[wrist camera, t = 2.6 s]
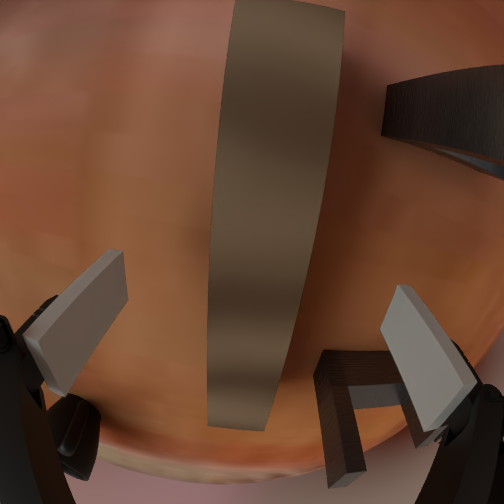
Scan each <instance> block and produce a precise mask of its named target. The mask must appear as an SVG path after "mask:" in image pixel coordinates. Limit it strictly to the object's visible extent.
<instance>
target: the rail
mask: <svg viewBox="0 0 504 504" xmlns="http://www.w3.org/2000/svg"><path fill="white" fill-rule="evenodd" d="M344 19H345V11H342V10H338V9H334V8H330V7H325V6H321V5H316V4H310V3H305V2H299V1H293V0H235V6H234V12H233V18H232V24H231V31H230V38H229V45H228V52H227V60H226V67H225V75H224V84H223V92H222V101H221V110H220V120H219V130H218V141H217V152H216V163H215V176H214V189H213V204H212V219H211V237H210V257H209V282H208V318H207V414H208V426H213V427H221V428H229V429H239V430H251V431H264V429H265V426H266V423H267V420H268V417H269V414H270V410H271V407H272V404H273V401H274V397H275V394H276V391H277V387H278V384H279V381H280V377H281V374H282V370H283V367H284V363H285V360H286V356H287V352H288V349H289V345H290V341H291V337H292V334H293V330H294V326H295V322H296V318H297V314H298V310H299V306H300V302H301V298H302V293H303V289H304V285H305V281H306V276H307V272H308V267H309V263H310V258H311V253H312V249H313V244H314V239H315V234H316V229H317V224H318V219H319V214H320V209H321V203H322V198H323V192H324V186H325V181H326V175H327V169H328V162H329V156H330V150H331V143H332V136H333V129H334V122H335V114H336V106H337V98H338V89H339V80H340V70H341V59H342V48H343V35H344Z"/></svg>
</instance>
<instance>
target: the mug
mask: <svg viewBox="0 0 504 504" xmlns="http://www.w3.org/2000/svg"><path fill="white" fill-rule="evenodd" d="M47 415H48V419H49V424H50V428H51V432H52V436H53V440H54V443H55V447H56V450H57V454H58V457H59V460H60V463H61V466H62V469H63V472H65V473H66V474H68V475H71V476H73V477H75V478H77V479H80V480H84V481H88V480H89V477H90V475H91V472H92V469H93V466H94V463H95V460H96V456H97V451H98V444H99V433H100V420H101V415H100V413H99V412H98V410H97V409H96V408H95V407H93V406H92V405H91V404H90V403H88V402H87V401H85V400H84V399H82V398H80V397H78V396H76V395H73V394H67V395H66V397H64V396H63V397H62V398H61V399H59V400H58V401H57V402H56V403H55V404H54V405H52V406H51V407H50V408H49V409H48V410H47Z"/></svg>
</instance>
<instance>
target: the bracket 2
mask: <svg viewBox="0 0 504 504" xmlns="http://www.w3.org/2000/svg"><path fill="white" fill-rule="evenodd" d="M381 136H384V137H387V138H391V139H394V140H398V141H401V142H404V143H407V144H410V145H413V146H416V147H419V148H422V149H425V150H428V151H431V152H433V153H436V154H439V155H441V156H444V157H446V158H449V159H452V160H454V161H456V162H459V163H461V164H464V165H466V166H468V167H471V168H473V169H475V170H477V171H480V172H482V173H484V174H487V175H490V176H493V177H495V178H498V179H500V180H503V181H504V64H502V65H492V66H483V67H475V68H468V69H461V70H455V71H449V72H444V73H439V74H434V75H429V76H424V77H419V78H415V79H411V80H407V81H403V82H399V83H395V84H391V85H387V94H386V102H385V110H384V118H383V125H382V132H381Z"/></svg>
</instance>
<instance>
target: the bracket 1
mask: <svg viewBox="0 0 504 504" xmlns="http://www.w3.org/2000/svg"><path fill="white" fill-rule="evenodd" d="M313 378H314V385H315V391H316V398H317V405H318V412H319V419H320V426H321V434H322V441H323V449H324V457H325V466H326V475H327V484H328V488H329V489H330V488H338V487H346V486H348V485H349V484H350V483H352V482H353V481H354V480H356V479H357V478H358V477H359V476H361V475H362V474H363V473H364V472H366V471H367V470H366V465H365V460H364V455H363V450H362V445H361V440H360V436H359V431H358V427H357V423H356V418H355V414H354V410H353V409H363V408H375V407H385V406H394V405H401V407H402V410H403V413H404V415H405V418H406V421H407V424H408V427H409V430H410V433H411V436H412V439H413V442H414V445H415V448H416V449H417V448H420V447H424V446H428V445H429V444H430V443H431V442H432V441H433V440H434V439H435V438H436V437H437V436H438V435H439V434H440V433H441V432H442V431H443V430H444V429H445V428H446V427H447V426H448V425H449V424H448V421H447V419H446V420H445V421H444V423H443V424H442V425H441V426H440V427H439V428H438V429H434V430H430V431H425V432H424V431H423V428H422V426H421V423H420V420H419V418H418V415H417V413H416V410H415V407H414V405H413V402H412V400H411V398H410V395H409V393H408V390H407V388H406V386H405V383H404V381H403V379H402V376H401V374H400V372H399V369H398V367H397V365H396V363H395V360H394V358H393V356H392V354H391V352H390V351H332V350H323V352H322V355H321V357H320V360H319V362H318V365H317V367H316V370H315V372H314V375H313Z"/></svg>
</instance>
